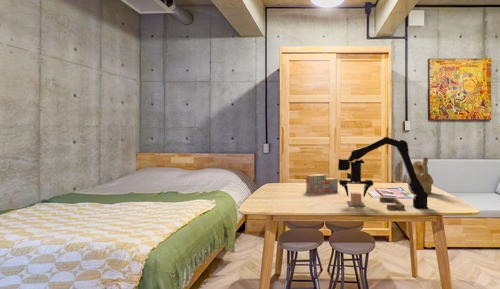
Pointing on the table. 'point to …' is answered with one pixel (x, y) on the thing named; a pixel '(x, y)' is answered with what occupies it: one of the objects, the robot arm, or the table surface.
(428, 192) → the ceramic vessel
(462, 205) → the table surface
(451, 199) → the table surface
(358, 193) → the terracotta blank
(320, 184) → the stack of blocks
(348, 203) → the charcoal mat
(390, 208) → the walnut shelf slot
